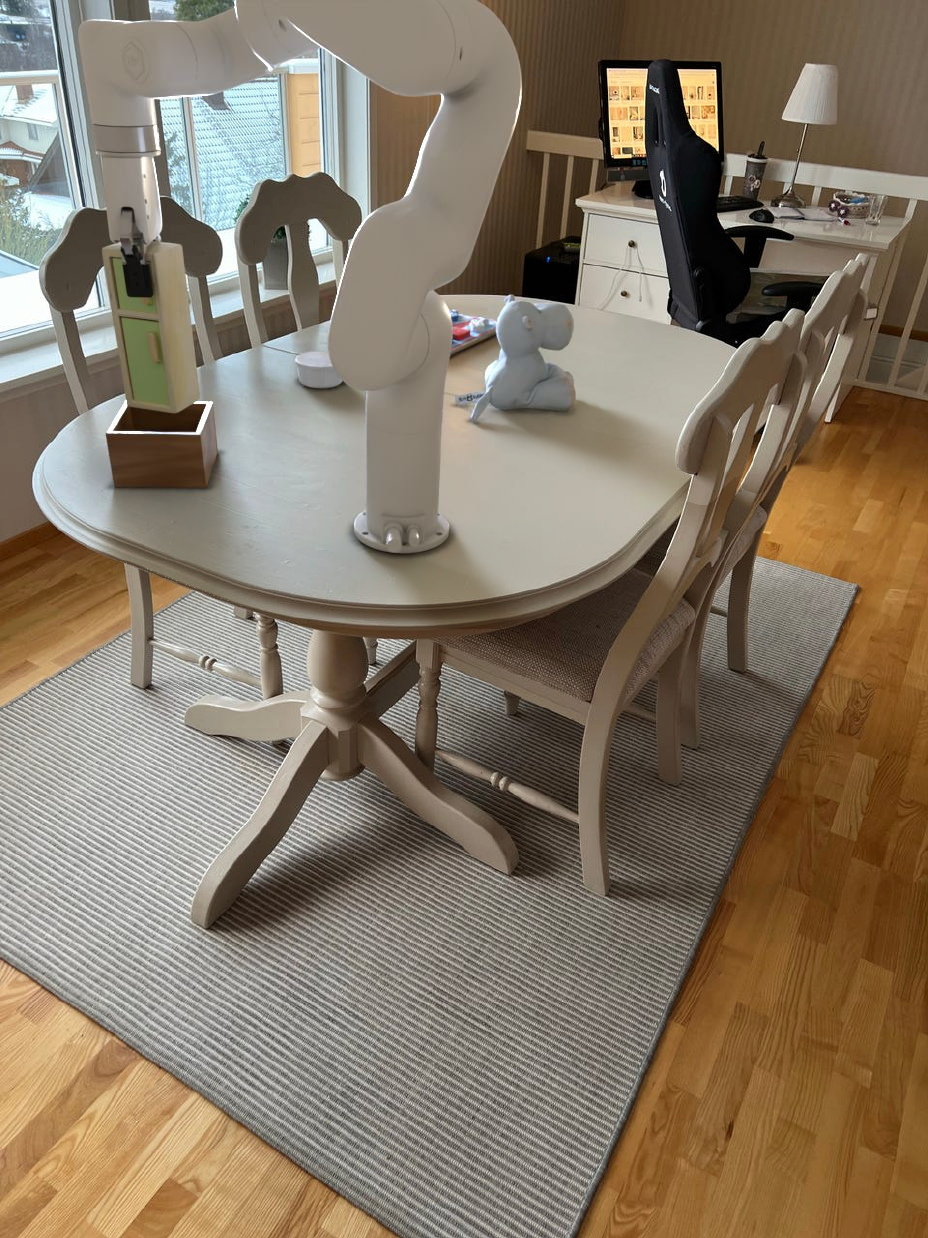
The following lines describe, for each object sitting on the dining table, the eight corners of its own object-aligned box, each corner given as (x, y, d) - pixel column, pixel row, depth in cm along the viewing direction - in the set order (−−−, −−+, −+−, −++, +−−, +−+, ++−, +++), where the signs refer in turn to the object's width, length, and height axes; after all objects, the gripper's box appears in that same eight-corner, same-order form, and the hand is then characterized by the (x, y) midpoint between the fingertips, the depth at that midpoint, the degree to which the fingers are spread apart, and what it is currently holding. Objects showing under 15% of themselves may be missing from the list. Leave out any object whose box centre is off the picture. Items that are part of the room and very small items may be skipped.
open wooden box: (206, 488, 132) (200, 434, 128) (114, 486, 131) (105, 432, 127) (218, 452, 143) (213, 401, 139) (132, 450, 142) (125, 399, 137)
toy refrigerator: (121, 408, 129) (97, 247, 118) (151, 391, 135) (130, 237, 124) (173, 416, 128) (153, 254, 116) (200, 399, 134) (184, 244, 122)
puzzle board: (419, 310, 215) (420, 298, 213) (507, 330, 205) (508, 318, 204) (338, 341, 192) (338, 328, 191) (432, 364, 183) (433, 351, 181)
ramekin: (291, 388, 168) (290, 364, 166) (301, 372, 175) (300, 349, 173) (340, 391, 168) (340, 367, 165) (348, 375, 175) (348, 352, 173)
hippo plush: (593, 414, 165) (607, 307, 155) (471, 423, 158) (477, 312, 148) (552, 379, 179) (563, 280, 169) (438, 386, 173) (442, 283, 163)
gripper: (111, 131, 121) (132, 271, 130) (76, 148, 106) (102, 304, 115) (171, 133, 121) (187, 272, 131) (144, 150, 107) (165, 305, 116)
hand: (147, 287), depth 123 cm, fingers closed on toy refrigerator, 8 cm apart
